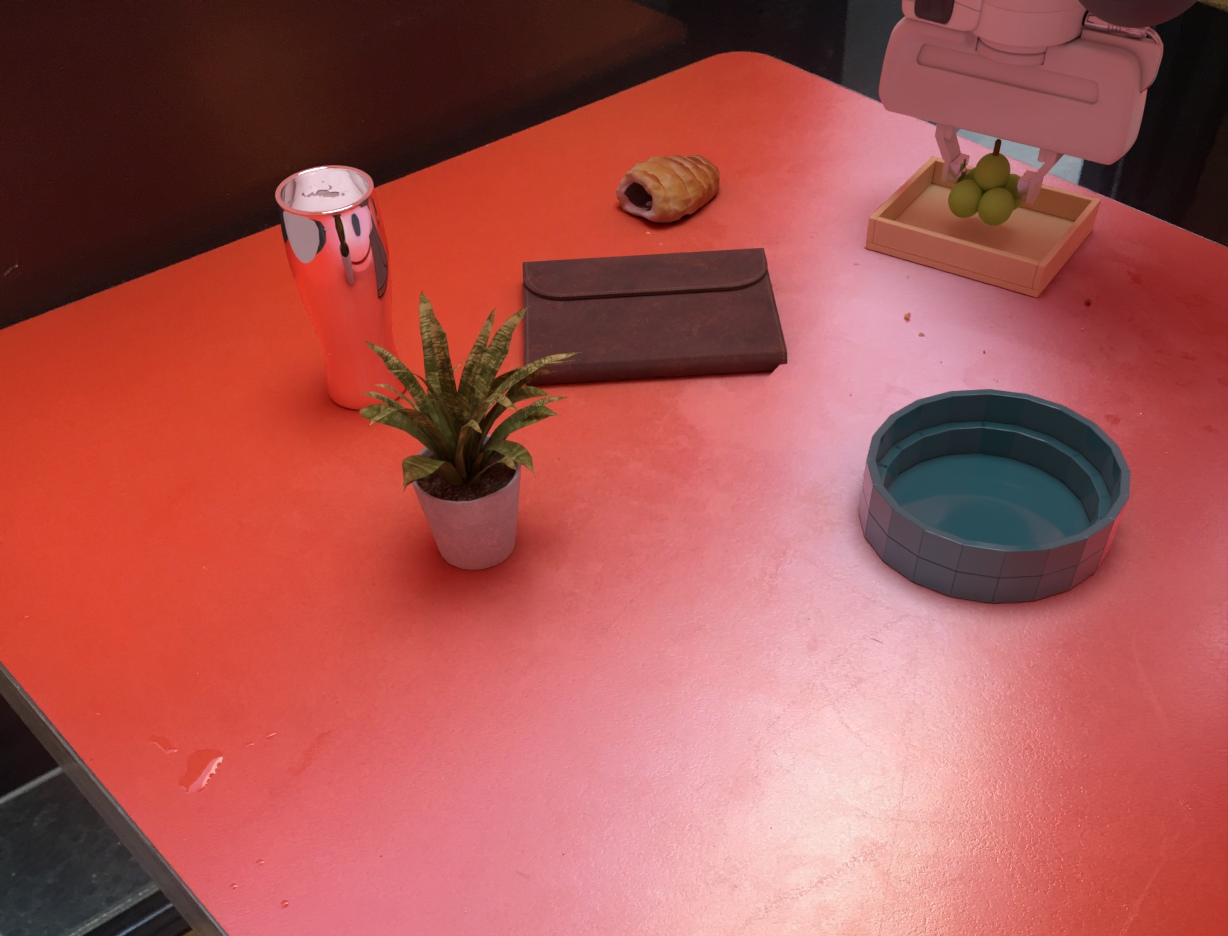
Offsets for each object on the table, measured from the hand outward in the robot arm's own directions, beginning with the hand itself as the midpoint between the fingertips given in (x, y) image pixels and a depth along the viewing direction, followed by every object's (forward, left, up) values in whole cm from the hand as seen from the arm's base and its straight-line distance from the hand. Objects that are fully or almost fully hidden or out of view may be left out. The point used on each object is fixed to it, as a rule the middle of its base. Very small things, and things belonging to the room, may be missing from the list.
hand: (988, 189), depth 100 cm
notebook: (+17, +25, -4) cm, 30 cm away
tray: (0, 0, -4) cm, 4 cm away
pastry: (+26, +8, -4) cm, 27 cm away
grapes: (0, 0, -2) cm, 2 cm away
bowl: (-15, +34, -4) cm, 37 cm away
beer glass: (+31, +43, -4) cm, 53 cm away
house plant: (+12, +54, -4) cm, 55 cm away
